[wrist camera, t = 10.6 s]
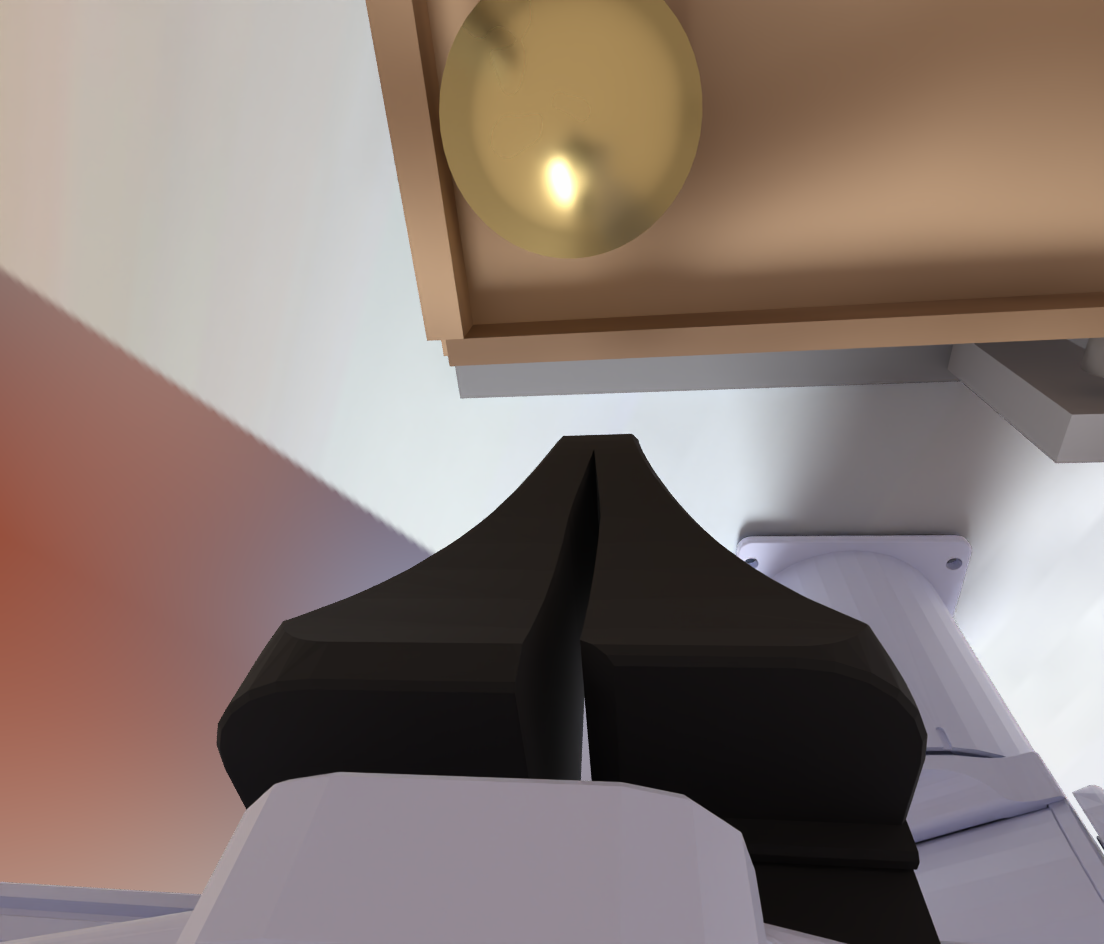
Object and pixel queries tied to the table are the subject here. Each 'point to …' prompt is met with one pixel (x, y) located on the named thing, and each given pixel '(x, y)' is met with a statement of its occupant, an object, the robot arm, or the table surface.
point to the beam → (799, 189)
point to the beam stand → (853, 381)
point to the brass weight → (570, 119)
